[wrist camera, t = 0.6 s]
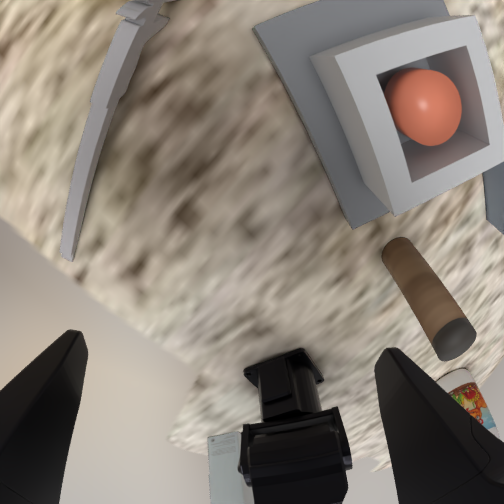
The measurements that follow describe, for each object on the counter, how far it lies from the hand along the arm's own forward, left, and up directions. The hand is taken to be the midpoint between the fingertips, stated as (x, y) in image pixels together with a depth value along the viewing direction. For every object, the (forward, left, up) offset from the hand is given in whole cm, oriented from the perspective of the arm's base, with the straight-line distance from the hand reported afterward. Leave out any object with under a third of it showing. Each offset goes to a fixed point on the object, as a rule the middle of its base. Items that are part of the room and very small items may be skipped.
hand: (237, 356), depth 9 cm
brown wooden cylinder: (-11, -9, -14) cm, 20 cm away
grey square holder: (+1, -12, -14) cm, 18 cm away
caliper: (+7, +5, -14) cm, 16 cm away
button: (+1, -12, -10) cm, 15 cm away
